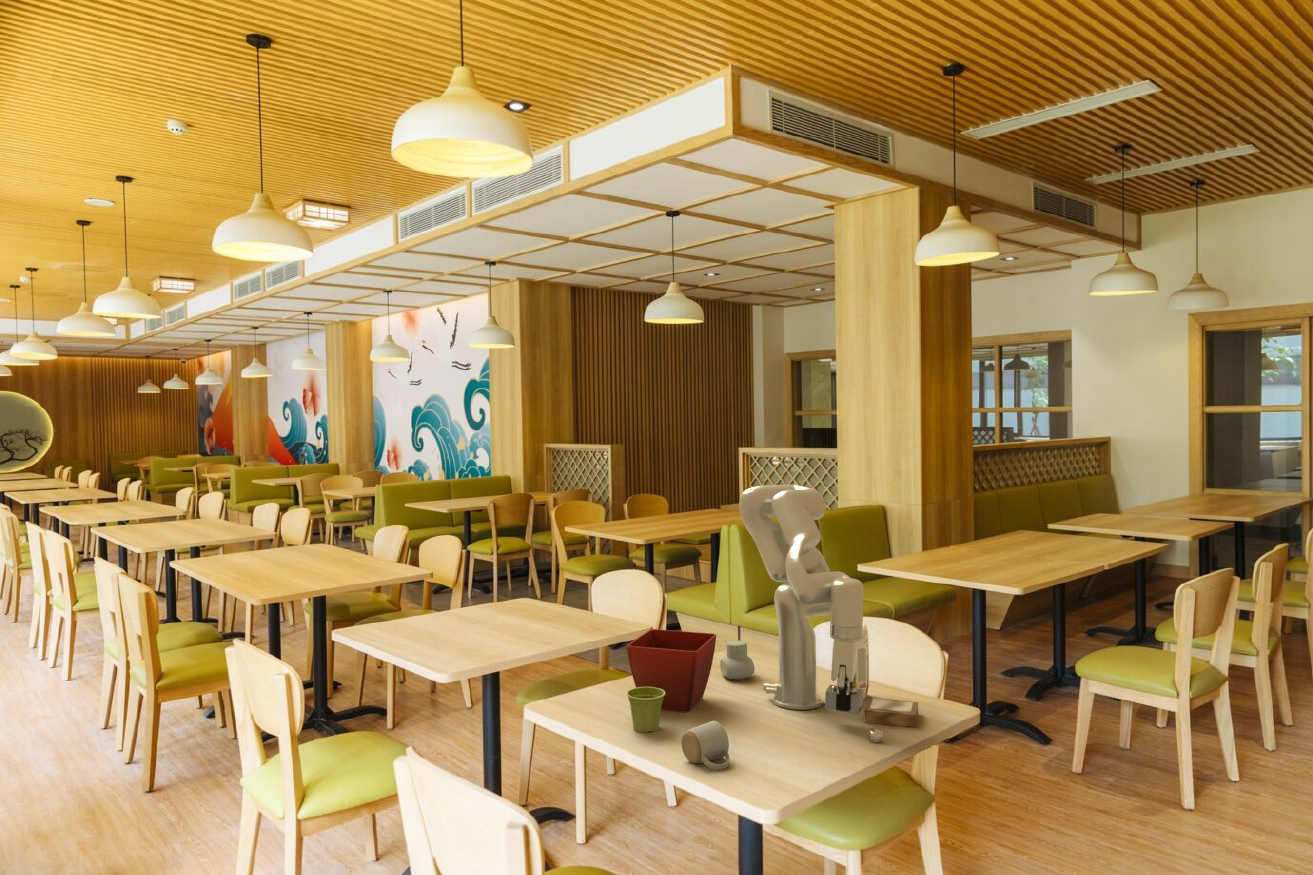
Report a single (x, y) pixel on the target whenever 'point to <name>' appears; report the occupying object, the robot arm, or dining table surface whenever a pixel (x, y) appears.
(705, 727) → the ceramic mug
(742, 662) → the air freshener
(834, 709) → the housing
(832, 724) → the dining table surface
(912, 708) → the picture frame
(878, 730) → the cylinder
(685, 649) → the plant pot
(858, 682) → the juice carton
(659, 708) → the plant pot
